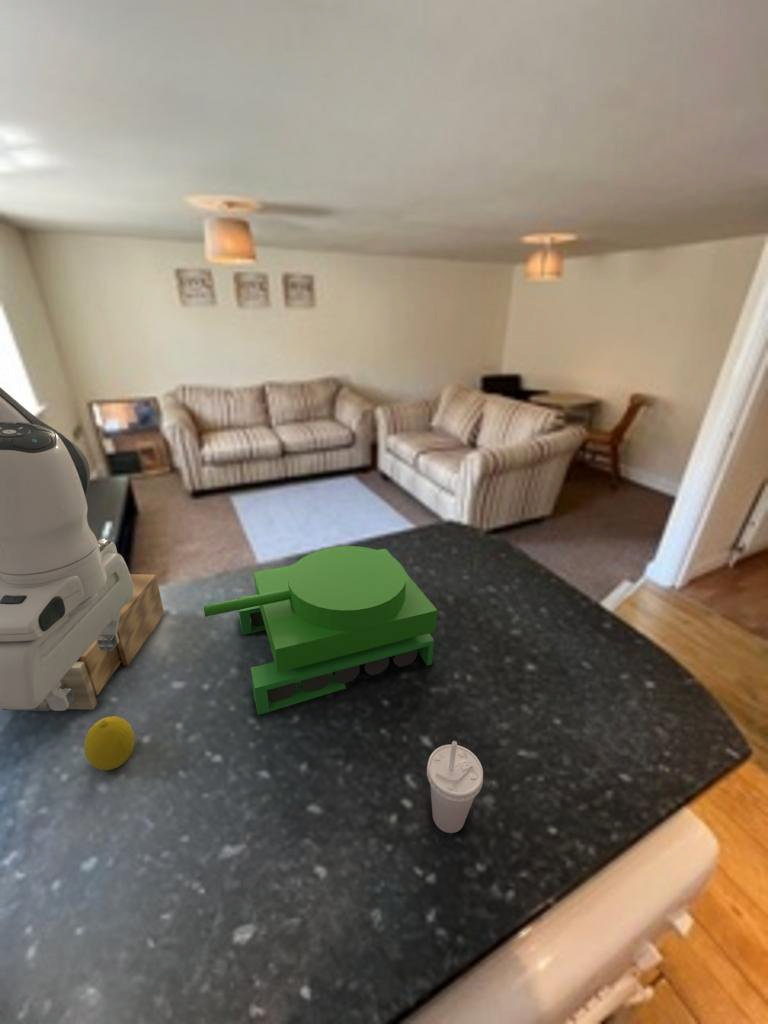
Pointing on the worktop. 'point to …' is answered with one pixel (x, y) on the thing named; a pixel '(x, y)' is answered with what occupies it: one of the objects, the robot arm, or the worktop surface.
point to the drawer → (87, 677)
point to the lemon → (109, 743)
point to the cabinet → (139, 616)
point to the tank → (332, 622)
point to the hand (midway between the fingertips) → (88, 673)
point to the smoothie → (453, 785)
